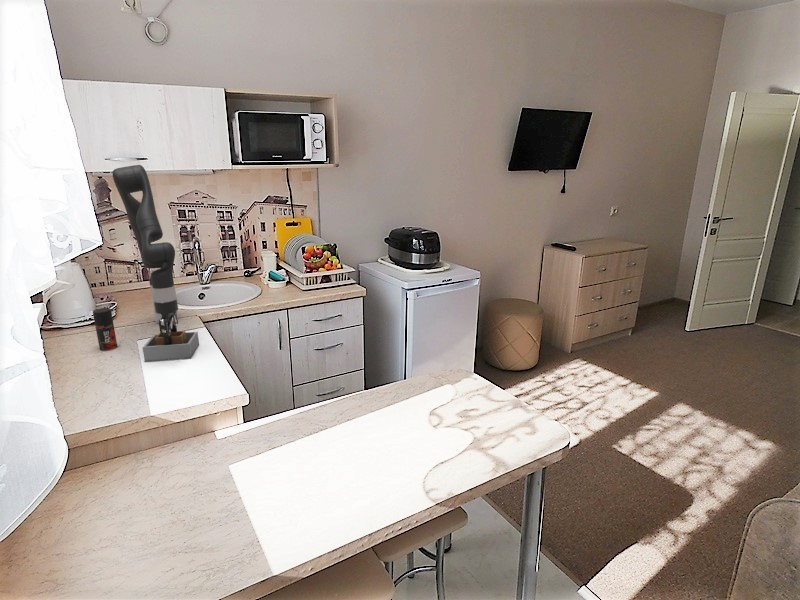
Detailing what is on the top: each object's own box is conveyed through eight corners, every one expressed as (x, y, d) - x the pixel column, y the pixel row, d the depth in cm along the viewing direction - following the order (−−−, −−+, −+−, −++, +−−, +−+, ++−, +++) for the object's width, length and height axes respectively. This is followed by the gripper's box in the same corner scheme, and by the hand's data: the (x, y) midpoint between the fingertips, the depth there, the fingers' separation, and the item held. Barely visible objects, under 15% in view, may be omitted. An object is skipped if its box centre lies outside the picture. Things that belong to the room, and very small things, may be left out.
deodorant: (104, 351, 187) (96, 313, 183) (97, 348, 190) (89, 310, 186) (120, 347, 191) (113, 309, 187) (113, 344, 195) (106, 307, 191)
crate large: (156, 348, 190) (154, 334, 188) (199, 345, 192) (197, 331, 191) (144, 361, 177) (142, 347, 175) (191, 358, 179) (189, 344, 178)
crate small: (162, 349, 187) (159, 332, 185) (187, 347, 188) (185, 331, 186) (157, 355, 181) (154, 338, 179) (183, 353, 182) (181, 336, 180)
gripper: (159, 294, 185) (166, 335, 189) (147, 304, 172) (154, 349, 176) (181, 293, 186) (186, 334, 191) (171, 303, 173) (177, 347, 177)
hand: (171, 341), depth 183 cm, fingers open, 8 cm apart
